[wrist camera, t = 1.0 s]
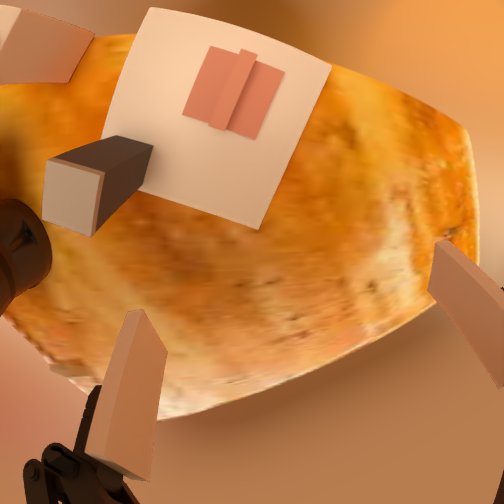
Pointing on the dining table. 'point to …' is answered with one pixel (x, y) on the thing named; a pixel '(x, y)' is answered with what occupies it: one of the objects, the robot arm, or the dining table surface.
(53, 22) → the milk carton
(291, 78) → the socket plate
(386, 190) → the dining table surface
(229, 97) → the salmon red stepped block
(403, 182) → the dining table surface
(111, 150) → the plug
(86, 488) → the robot arm
